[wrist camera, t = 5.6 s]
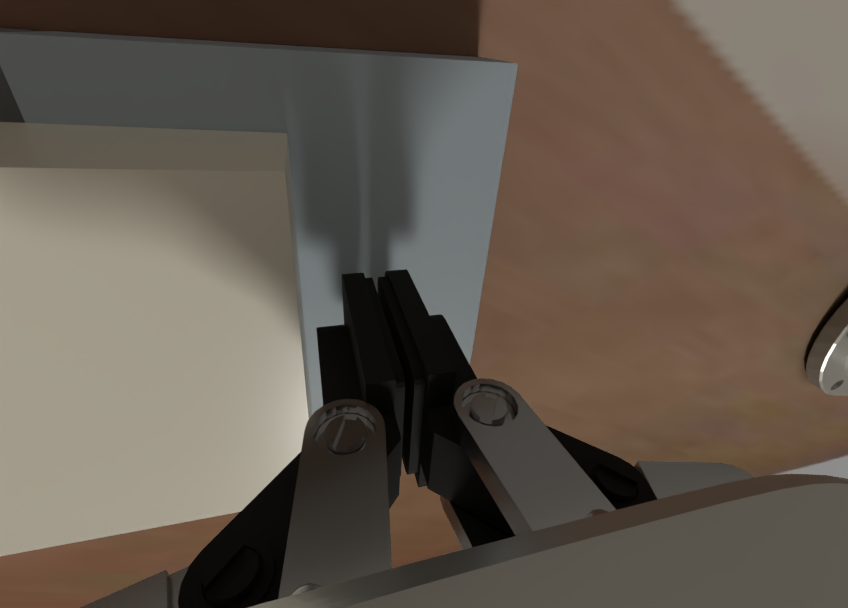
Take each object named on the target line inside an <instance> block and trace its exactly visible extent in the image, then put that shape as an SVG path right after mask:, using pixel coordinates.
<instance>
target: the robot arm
mask: <svg viewBox="0 0 848 608" xmlns="http://www.w3.org/2000/svg"><path fill="white" fill-rule="evenodd" d="M342 296H343V313H344V325H335V326H325V327H316V330H317V341H318V352H319V364H320V375H321V386H322V398H323V406H322V407H321V408H319V409H318V410H317V411H315V412H314V413H313V415H312V416H311V417H310V418H309V420H308V422H307V425H306V427H305V430H304V437H303V443H302V449H301V452H300V453H299V454H298V455H297V456H296V457H295V458H294V459H293V460H292V461H291V462H290V463H289V464H288V465H287V466H286V467H285V468H284V469H283V470H282V471H281V472H280V473H279V474H278V475H277V476H276V477H275V478H274V479H273V480H272V481H271V482H270V483H269V484H268V485H267V486H266V487H265V488H264V489H263V490H262V491H261V492H260V493H259V494H258V495H257V496H256V497H255V498H254V499H253V500H252V501H251V502H250V503H249V504H248V505H247V506H246V507H245V508H244V509H243V510H242V511H241V512H240V513H239V514H238V515H237V516H236V517H235V518H234V519H233V520H232V521H231V522H230V523H229V524H228V525H227V526H226V527H225V528H224V529H223V530H222V531H221V532H220V533H219V534H218V535H217V536H216V537H215V538H214V539H213V540H212V541H211V542H210V543H209V544H208V545H207V546H206V547H205V548H204V549H203V550H202V551H201V552H200V553H199V555H198V556H197V557H196V558H195V560H194V561H193V562H192V563H191V565H190V566H188V567H186V568H184V569H182V570H179V571H177V572H175V573H173V574H170V575H169V574H168V572H167V571H166V570H164V571H162V572H160V573H158V574H155V575H153V576H151V577H149V578H146V579H144V580H142V581H140V582H137V583H135V584H133V585H130V586H128V587H126V588H124V589H121V590H119V591H117V592H115V593H112V594H110V595H108V596H106V597H103V598H101V599H99V600H96V601H94V602H92V603H90V604H87V605H85V606H83V607H81V608H848V479H846V478H839V477H833V476H827V475H808V474H783V475H767V476H761V477H754V476H753V475H751V474H750V473H748V472H747V471H745V470H743V469H740V468H738V467H736V466H733V465H729V464H724V463H700V462H650V461H637V463H636V465H635V466H632V465H631V464H629V463H628V462H626V461H624V460H622V459H621V458H619V457H617V456H614V455H612V454H610V453H607V452H605V451H603V450H601V449H598V448H596V447H594V446H592V445H589V444H587V443H585V442H582V441H580V440H578V439H576V438H573V437H571V436H569V435H566V434H564V433H562V432H560V431H557V430H555V429H553V428H551V427H548V426H546V425H545V424H544V423H543V422H542V421H541V419H540V418H539V417H538V416H537V415H536V414H535V412H534V411H533V410H532V409H531V408H530V406H529V405H528V404H527V403H526V402H525V400H524V399H523V398H522V397H521V396H520V394H518V393H517V392H516V391H515V390H514V389H513V388H512V387H510V386H508V385H506V384H505V383H503V382H500V381H496V380H493V379H483V378H481V379H477V378H476V376H475V374H474V372H473V370H472V368H471V366H470V364H469V363H468V361H467V359H466V357H465V355H464V353H463V351H462V349H461V348H460V346H459V344H458V342H457V340H456V338H455V336H454V334H453V332H452V331H451V329H450V327H449V325H448V323H447V321H446V319H445V318H444V316H443V315H441V314H439V315H429V313H428V311H427V309H426V307H425V305H424V303H423V301H422V299H421V297H420V295H419V293H418V291H417V288H416V286H415V284H414V282H413V280H412V278H411V276H410V274H409V272H408V270H407V269H404V270H391V271H386V272H385V276H384V277H378V293H377V290H376V287H375V284H374V281H373V278H372V277H371V278H365V276H364V273H350V274H342ZM806 372H807V378H808V379H809V381H810V382H811V383H812V384H813V385H815V386H816V387H818V388H819V389H820V390H822V391H823V392H825V393H826V394H830V395H833V396H848V298H847V299H846V300H845V301H844V302H843V303H842V304H841V305H840V306H839V307H838V308H837V310H836V311H835V312H834V313H833V315H832V316H831V317H830V319H829V320H828V321H827V322H826V324H825V325H824V326H823V328H822V330H821V331H820V333H819V335H818V336H817V338H816V339H815V341H814V343H813V345H812V348H811V350H810V352H809V354H808V359H807V363H806ZM402 459H403V463H404V467H405V470H406V473H407V474H413V473H415V477H416V481H417V484H418V487H422V486H427V487H428V489H430V490H431V491H433V492H435V493H437V494H439V495H440V500H441V503H442V507H443V509H444V511H445V513H446V515H447V517H448V519H449V522H450V524H451V526H452V528H453V530H454V532H455V534H456V536H457V538H458V540H459V542H460V544H461V546H462V548H463V550H461V551H457V552H453V553H449V554H446V555H442V556H438V557H434V558H430V559H427V560H423V561H419V562H415V563H411V564H408V565H404V566H400V567H397V568H393V569H392V560H391V539H390V518H389V509H390V507H391V506H392V504H393V503H394V501H395V500H396V498H397V497H398V495H399V482H400V476H401V462H402Z"/></svg>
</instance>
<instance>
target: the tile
mask: <svg viewBox="0 0 848 608" xmlns="http://www.w3.org/2000/svg"><path fill="white" fill-rule="evenodd" d="M311 416H312V406H311V394H310V383H309V372H308V360H307V349H306V338H305V327H304V315H303V304H302V293H301V282H300V270H299V259H298V248H297V236H296V225H295V214H294V203H293V191H292V180H291V169H290V158H289V146H288V135H287V133H277V132H251V131H225V130H199V129H173V128H147V127H121V126H95V125H69V124H43V123H17V122H0V556H5V555H10V554H15V553H21V552H26V551H31V550H37V549H42V548H48V547H53V546H58V545H64V544H69V543H74V542H80V541H85V540H91V539H96V538H101V537H107V536H112V535H118V534H123V533H128V532H134V531H139V530H144V529H150V528H155V527H161V526H166V525H171V524H177V523H182V522H187V521H193V520H198V519H204V518H209V517H214V516H220V515H225V514H230V513H236V512H241V511H242V510H243V509H244V508H245V507H246V506H247V505H248V504H249V503H250V502H251V501H252V500H253V499H254V498H255V497H256V496H257V495H258V494H259V493H260V492H261V491H262V490H263V489H264V488H265V487H266V486H267V485H268V484H269V483H270V482H271V481H272V480H273V479H274V478H275V477H276V476H277V475H278V474H279V473H280V472H281V471H282V470H283V469H284V468H285V467H286V466H287V465H288V464H289V463H290V462H291V461H292V460H293V459H294V458H295V457H296V456H297V455H298V454H299V453H300V452H301V449H302V443H303V437H304V430H305V427H306V425H307V422H308V420H309V418H310V417H311Z"/></svg>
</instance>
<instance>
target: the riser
mask: <svg viewBox="0 0 848 608" xmlns="http://www.w3.org/2000/svg"><path fill="white" fill-rule="evenodd" d="M0 66H1V68H2V71H3V73H4V75H5V77H6V80H7V82H8V84H9V87H10V89H11V91H12V93H13V96H14V98H15V100H16V102H17V105H18V107H19V109H20V112H21V114H22V116H23V118H24V121H25V123H43V124H69V125H95V126H121V127H147V128H173V129H199V130H225V131H251V132H277V133H287V135H288V146H289V158H290V169H291V180H292V191H293V203H294V214H295V225H296V236H297V248H298V259H299V270H300V282H301V293H302V304H303V315H304V327H305V338H306V349H307V360H308V372H309V383H310V394H311V406H312V415H313V413H314V412H315V411H317V410H318V409H319V408H321V407H322V406H323V398H322V386H321V375H320V364H319V352H318V341H317V330H316V327H325V326H335V325H344V313H343V296H342V274H350V273H364V276H365V278H371V277H372V278H373V281H374V284H375V287H376V290H377V293H378V277H384V276H385V272H386V271H391V270H404V269H407V270H408V272H409V274H410V276H411V278H412V280H413V282H414V284H415V286H416V288H417V291H418V293H419V295H420V297H421V299H422V301H423V303H424V305H425V307H426V309H427V311H428V313H429V315H439V314H441V315H443V316H444V318H445V319H446V321H447V323H448V325H449V327H450V329H451V331H452V332H453V334H454V336H455V338H456V340H457V342H458V344H459V346H460V348H461V349H462V351H463V353H464V355H465V357H466V359H467V361H468V363H469V364H470V360H471V354H472V348H473V341H474V335H475V329H476V323H477V317H478V310H479V304H480V298H481V292H482V285H483V279H484V273H485V267H486V261H487V254H488V248H489V242H490V236H491V230H492V223H493V217H494V211H495V205H496V198H497V192H498V186H499V180H500V174H501V167H502V161H503V155H504V149H505V142H506V136H507V130H508V124H509V118H510V111H511V105H512V99H513V93H514V87H515V80H516V74H517V68H518V63H513V62H507V61H500V60H494V59H488V58H482V57H470V56H454V55H438V54H421V53H405V52H388V51H372V50H356V49H339V48H323V47H306V46H290V45H274V44H257V43H241V42H224V41H208V40H192V39H175V38H159V37H142V36H126V35H110V34H93V33H77V32H60V31H32V32H0Z"/></svg>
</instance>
